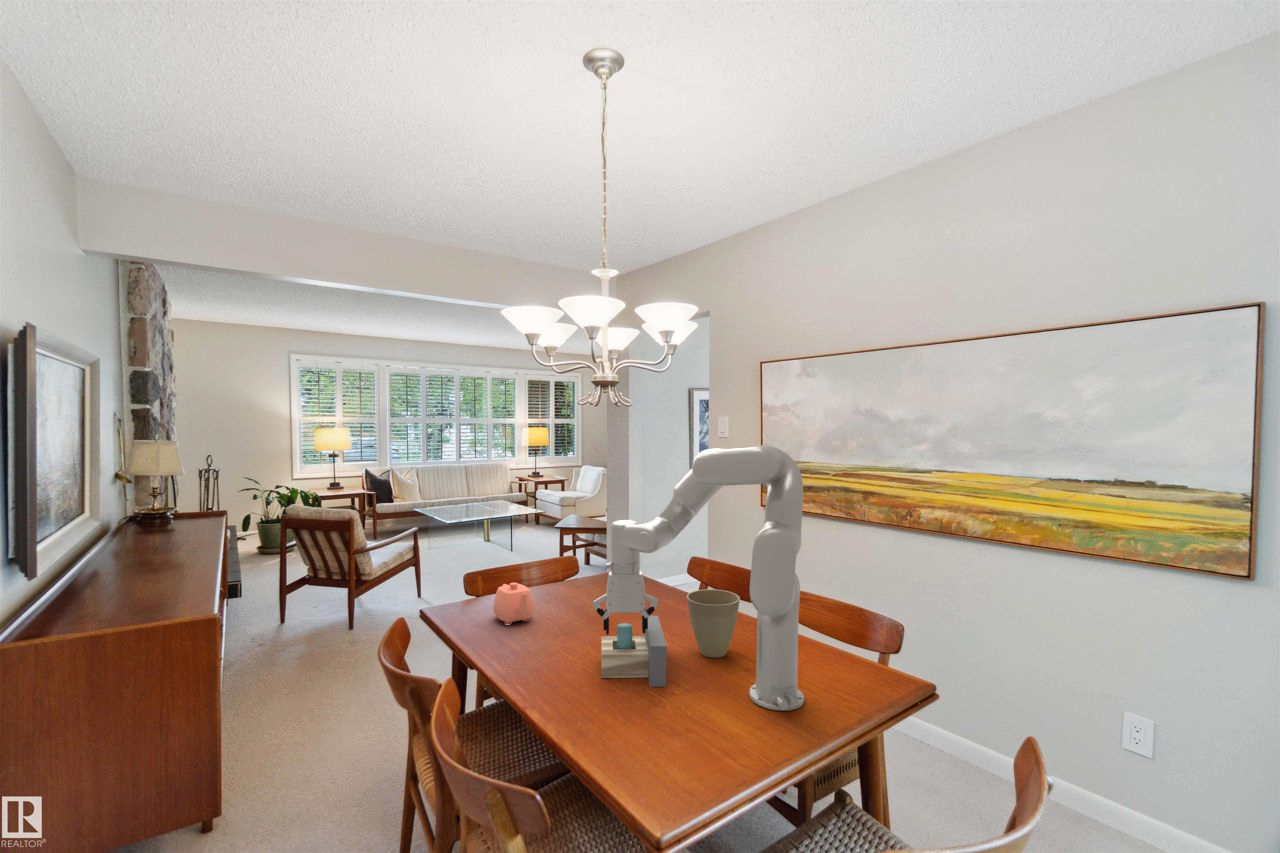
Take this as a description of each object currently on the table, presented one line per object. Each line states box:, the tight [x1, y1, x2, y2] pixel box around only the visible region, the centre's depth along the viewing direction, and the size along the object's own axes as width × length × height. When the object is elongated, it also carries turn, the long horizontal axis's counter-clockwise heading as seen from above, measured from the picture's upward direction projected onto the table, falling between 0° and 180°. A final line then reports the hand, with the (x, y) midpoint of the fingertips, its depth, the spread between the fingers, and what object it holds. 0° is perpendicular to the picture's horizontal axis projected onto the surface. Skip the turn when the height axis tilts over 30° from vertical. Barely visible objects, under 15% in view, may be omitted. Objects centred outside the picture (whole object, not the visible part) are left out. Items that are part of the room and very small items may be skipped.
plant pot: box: [686, 588, 741, 659], centre depth 159 cm, size 15×15×16 cm
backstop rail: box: [643, 615, 668, 688], centre depth 149 cm, size 22×4×10 cm, turn 4°
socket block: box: [600, 635, 649, 679], centre depth 149 cm, size 12×12×6 cm
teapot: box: [493, 582, 535, 625], centre depth 183 cm, size 20×12×12 cm, turn 35°
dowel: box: [616, 622, 633, 650], centre depth 148 cm, size 4×4×10 cm
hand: (625, 632), depth 148 cm, fingers open, 9 cm apart
